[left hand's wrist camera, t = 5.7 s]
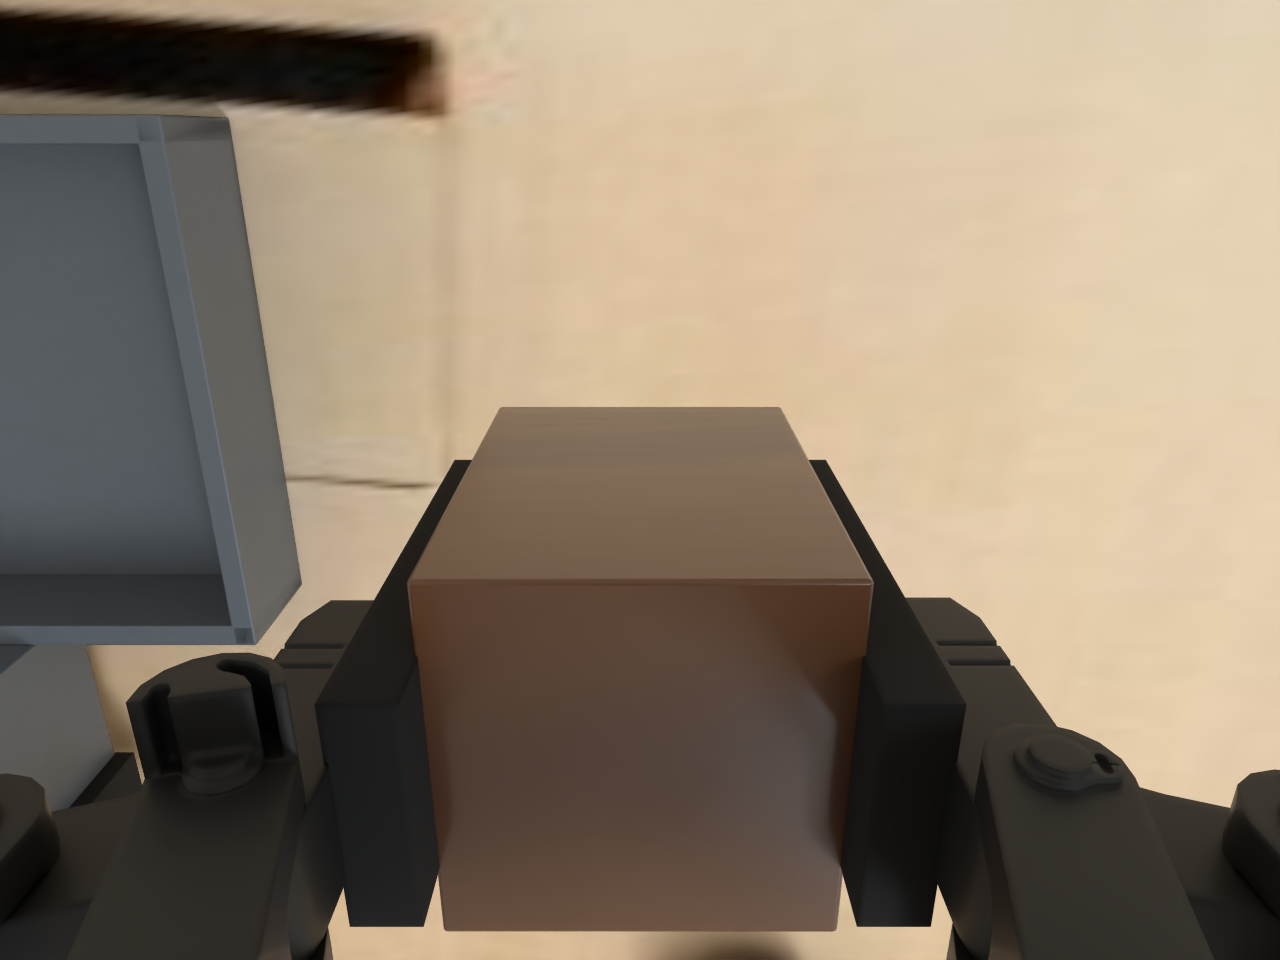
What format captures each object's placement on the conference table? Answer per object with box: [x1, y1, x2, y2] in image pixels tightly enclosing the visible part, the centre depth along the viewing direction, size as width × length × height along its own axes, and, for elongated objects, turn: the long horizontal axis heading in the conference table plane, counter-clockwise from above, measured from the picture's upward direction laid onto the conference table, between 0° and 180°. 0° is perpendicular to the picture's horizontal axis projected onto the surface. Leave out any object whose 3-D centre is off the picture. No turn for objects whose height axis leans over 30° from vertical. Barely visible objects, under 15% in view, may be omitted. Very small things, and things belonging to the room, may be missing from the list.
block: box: [407, 407, 874, 931], centre depth 12 cm, size 4×4×6 cm
